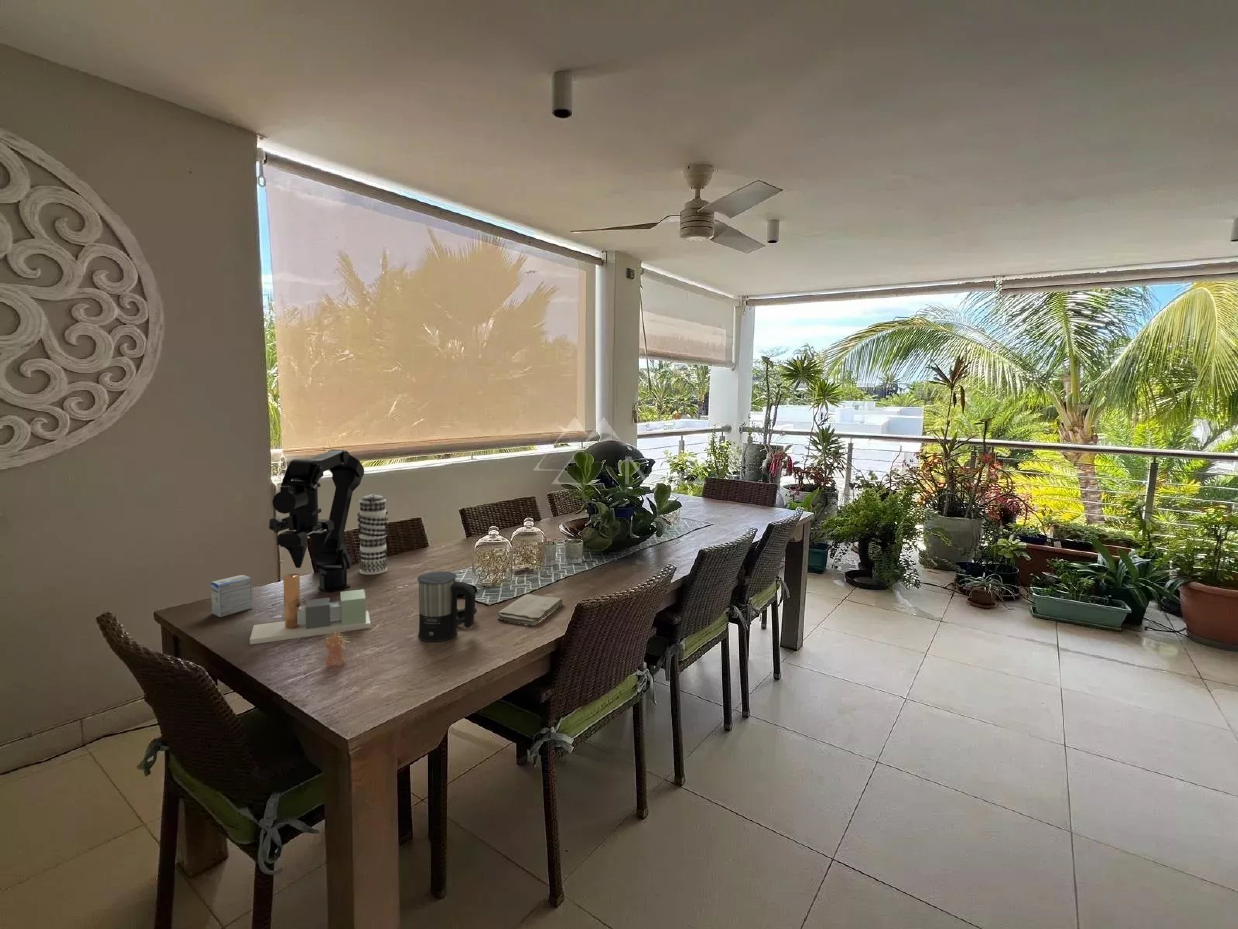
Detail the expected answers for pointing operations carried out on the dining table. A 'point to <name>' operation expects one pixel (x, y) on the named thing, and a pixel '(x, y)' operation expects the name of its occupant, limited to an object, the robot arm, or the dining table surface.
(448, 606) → the milk frother
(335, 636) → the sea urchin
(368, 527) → the decorative candle
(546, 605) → the washcloth
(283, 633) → the tube stand
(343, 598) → the socket block
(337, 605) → the tube
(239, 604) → the medicine box
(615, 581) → the dining table surface
